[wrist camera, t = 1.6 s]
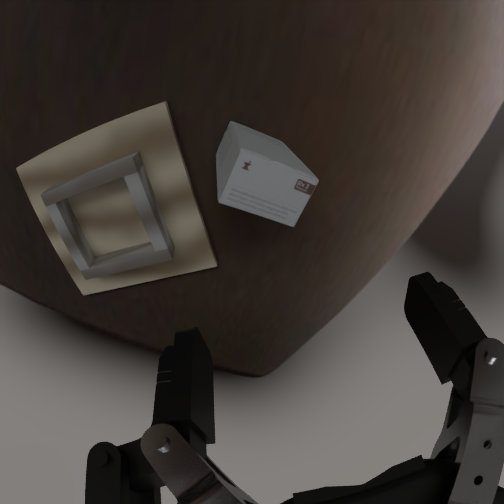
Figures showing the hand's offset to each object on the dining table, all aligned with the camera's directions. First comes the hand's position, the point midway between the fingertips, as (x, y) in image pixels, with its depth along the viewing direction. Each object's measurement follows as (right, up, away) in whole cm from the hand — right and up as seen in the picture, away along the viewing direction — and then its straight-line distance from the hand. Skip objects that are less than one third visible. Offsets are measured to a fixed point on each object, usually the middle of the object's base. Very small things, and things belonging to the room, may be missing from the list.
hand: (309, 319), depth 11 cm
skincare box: (-2, +13, +19) cm, 24 cm away
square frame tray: (-18, +7, +22) cm, 29 cm away
